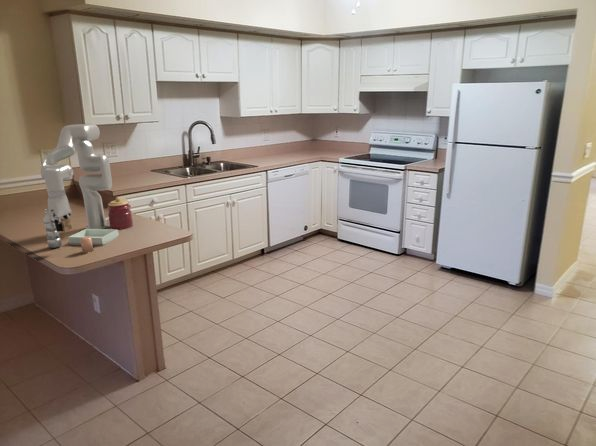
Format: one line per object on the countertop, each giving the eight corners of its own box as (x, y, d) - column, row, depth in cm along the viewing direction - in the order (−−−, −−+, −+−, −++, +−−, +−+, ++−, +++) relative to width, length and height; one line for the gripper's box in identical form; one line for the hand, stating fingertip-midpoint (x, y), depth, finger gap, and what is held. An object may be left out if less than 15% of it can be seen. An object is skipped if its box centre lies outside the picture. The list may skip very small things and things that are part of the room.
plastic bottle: (64, 244, 242) (57, 207, 236) (58, 249, 235) (51, 211, 230) (52, 245, 241) (45, 208, 236) (45, 249, 235) (38, 211, 229)
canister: (125, 230, 264) (121, 200, 259) (105, 229, 267) (100, 199, 262) (137, 223, 277) (133, 195, 272) (118, 223, 279) (113, 194, 274)
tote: (87, 235, 256) (85, 228, 255) (118, 236, 252) (117, 229, 251) (69, 244, 242) (68, 237, 241) (102, 245, 238) (101, 237, 237)
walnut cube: (63, 228, 232) (61, 218, 230) (71, 228, 231) (70, 218, 229) (56, 231, 227) (54, 221, 225) (65, 231, 226) (63, 222, 224)
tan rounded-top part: (86, 249, 233) (84, 236, 231) (95, 250, 232) (93, 236, 230) (80, 253, 228) (77, 239, 226) (89, 253, 227) (87, 239, 225)
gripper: (61, 189, 232) (68, 223, 237) (37, 198, 216) (45, 234, 222) (74, 189, 230) (81, 224, 236) (51, 198, 214) (58, 235, 220)
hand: (63, 228), depth 229 cm, fingers closed on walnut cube, 5 cm apart
